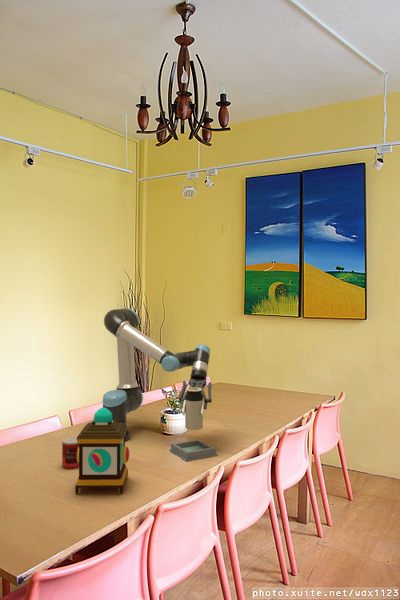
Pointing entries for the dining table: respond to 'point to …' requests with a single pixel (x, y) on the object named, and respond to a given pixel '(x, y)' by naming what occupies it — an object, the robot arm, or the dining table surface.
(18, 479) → the dining table surface
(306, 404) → the dining table surface
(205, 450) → the tray
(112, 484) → the decorative lantern
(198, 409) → the travel mug
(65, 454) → the canned food
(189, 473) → the dining table surface
